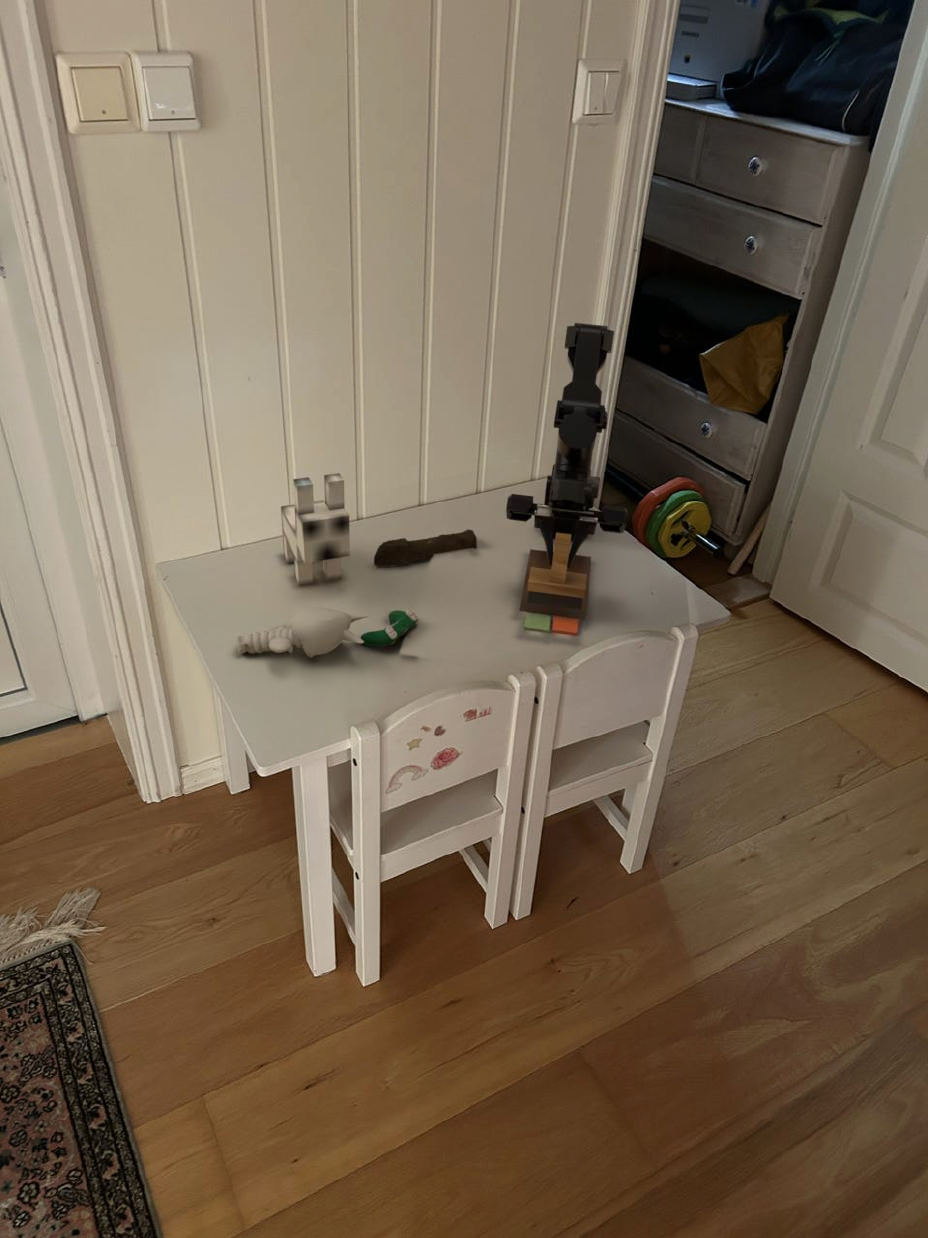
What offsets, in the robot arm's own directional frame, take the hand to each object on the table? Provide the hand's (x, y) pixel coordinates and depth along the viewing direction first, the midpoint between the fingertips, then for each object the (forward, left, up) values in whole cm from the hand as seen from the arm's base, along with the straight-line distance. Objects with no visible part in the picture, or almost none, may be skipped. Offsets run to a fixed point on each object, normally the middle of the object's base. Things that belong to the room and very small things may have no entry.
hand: (559, 566), depth 145 cm
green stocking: (+24, -10, -12) cm, 29 cm away
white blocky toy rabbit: (+26, -33, -12) cm, 44 cm away
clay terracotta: (0, +3, -11) cm, 12 cm away
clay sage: (+3, 0, -11) cm, 12 cm away
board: (-7, -8, -11) cm, 16 cm away
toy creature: (+37, -13, -12) cm, 41 cm away
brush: (-1, -1, -7) cm, 7 cm away
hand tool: (+7, -27, -12) cm, 30 cm away
